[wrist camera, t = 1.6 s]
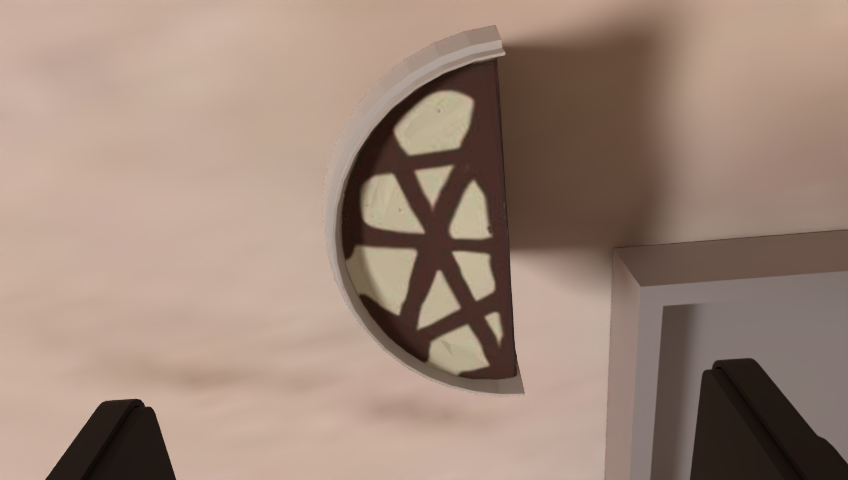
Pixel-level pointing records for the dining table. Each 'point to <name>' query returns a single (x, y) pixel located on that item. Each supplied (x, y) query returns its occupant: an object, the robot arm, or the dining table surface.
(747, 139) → the dining table surface
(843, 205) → the dining table surface
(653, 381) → the tray
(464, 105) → the food container
